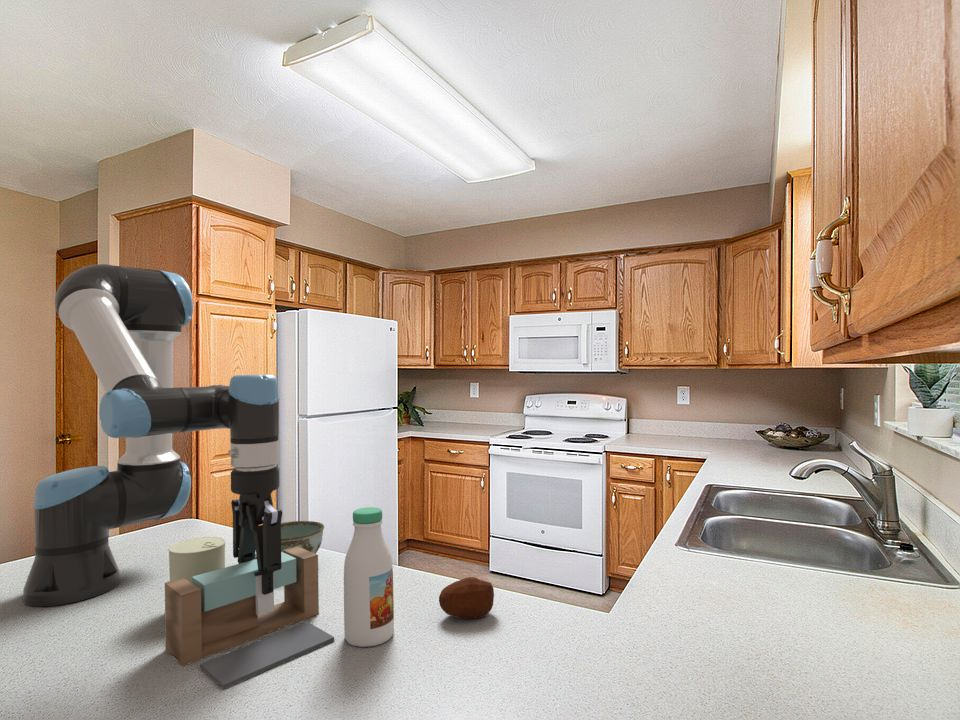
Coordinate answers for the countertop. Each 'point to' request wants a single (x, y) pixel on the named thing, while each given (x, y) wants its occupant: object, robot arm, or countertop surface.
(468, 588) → the potato
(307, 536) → the bowl
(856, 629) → the countertop surface
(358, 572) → the milk bottle
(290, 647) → the mat
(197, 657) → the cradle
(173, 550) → the can
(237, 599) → the slab
